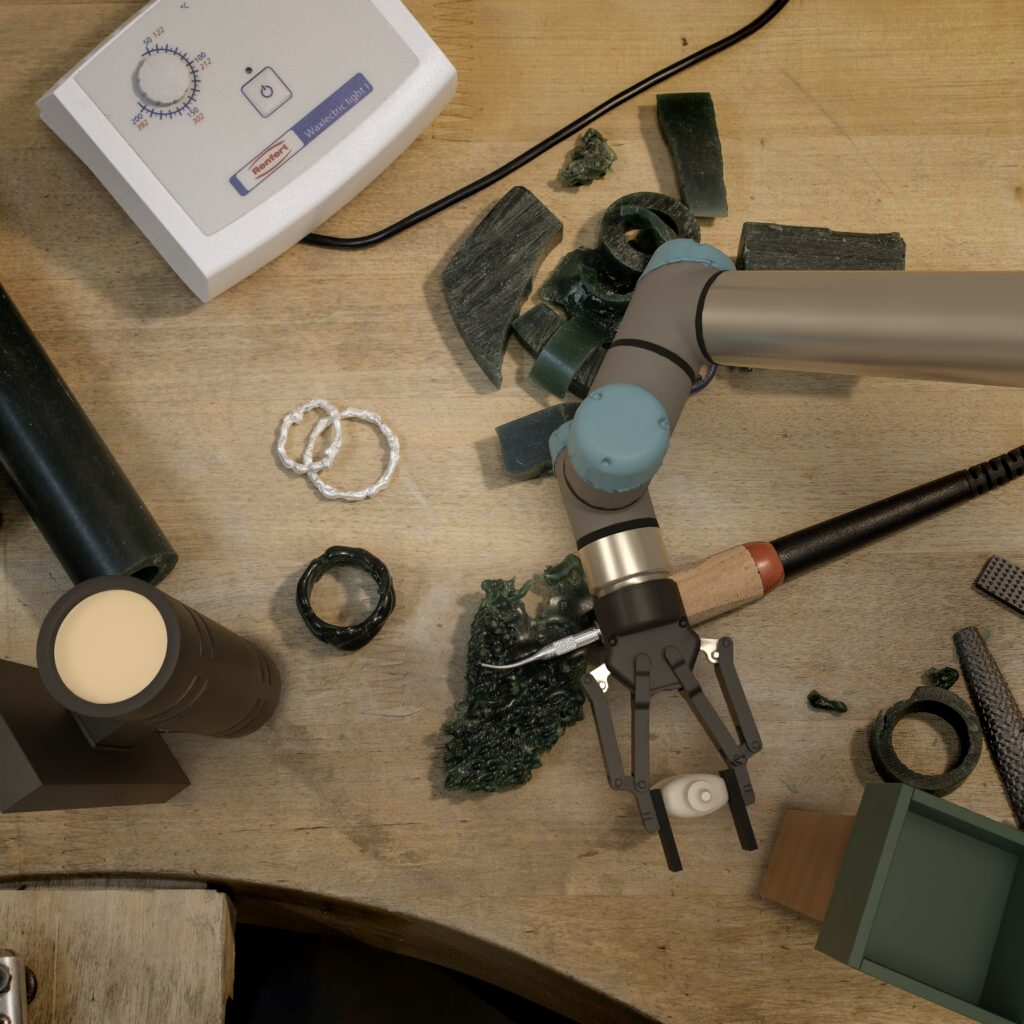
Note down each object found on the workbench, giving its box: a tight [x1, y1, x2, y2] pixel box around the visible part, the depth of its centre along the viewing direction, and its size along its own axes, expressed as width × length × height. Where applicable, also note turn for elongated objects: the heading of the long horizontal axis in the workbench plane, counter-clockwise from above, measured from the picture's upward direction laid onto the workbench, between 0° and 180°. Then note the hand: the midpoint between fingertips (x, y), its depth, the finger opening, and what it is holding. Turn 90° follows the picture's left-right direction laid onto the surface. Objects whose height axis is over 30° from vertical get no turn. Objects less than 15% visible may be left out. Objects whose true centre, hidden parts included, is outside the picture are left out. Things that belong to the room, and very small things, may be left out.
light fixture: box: [0, 574, 282, 815], centre depth 82 cm, size 10×15×33 cm
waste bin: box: [814, 782, 1024, 1024], centre depth 68 cm, size 12×12×7 cm
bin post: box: [758, 808, 856, 923], centre depth 83 cm, size 8×8×25 cm
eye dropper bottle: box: [649, 772, 729, 819], centre depth 88 cm, size 4×6×12 cm
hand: (713, 858), depth 86 cm, fingers closed on eye dropper bottle, 6 cm apart
